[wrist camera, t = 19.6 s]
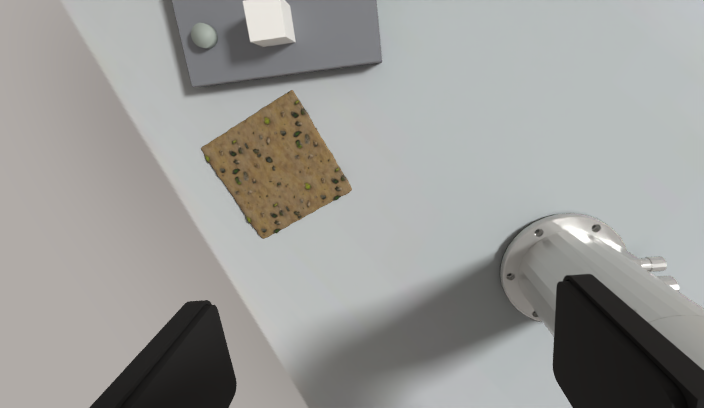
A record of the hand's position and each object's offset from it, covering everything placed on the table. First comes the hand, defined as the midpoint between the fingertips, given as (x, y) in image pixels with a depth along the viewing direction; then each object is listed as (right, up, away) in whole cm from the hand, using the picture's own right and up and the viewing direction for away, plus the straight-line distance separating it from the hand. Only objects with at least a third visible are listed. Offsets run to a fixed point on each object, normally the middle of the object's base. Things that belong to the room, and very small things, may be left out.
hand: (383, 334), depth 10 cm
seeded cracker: (-9, +7, +29) cm, 31 cm away
